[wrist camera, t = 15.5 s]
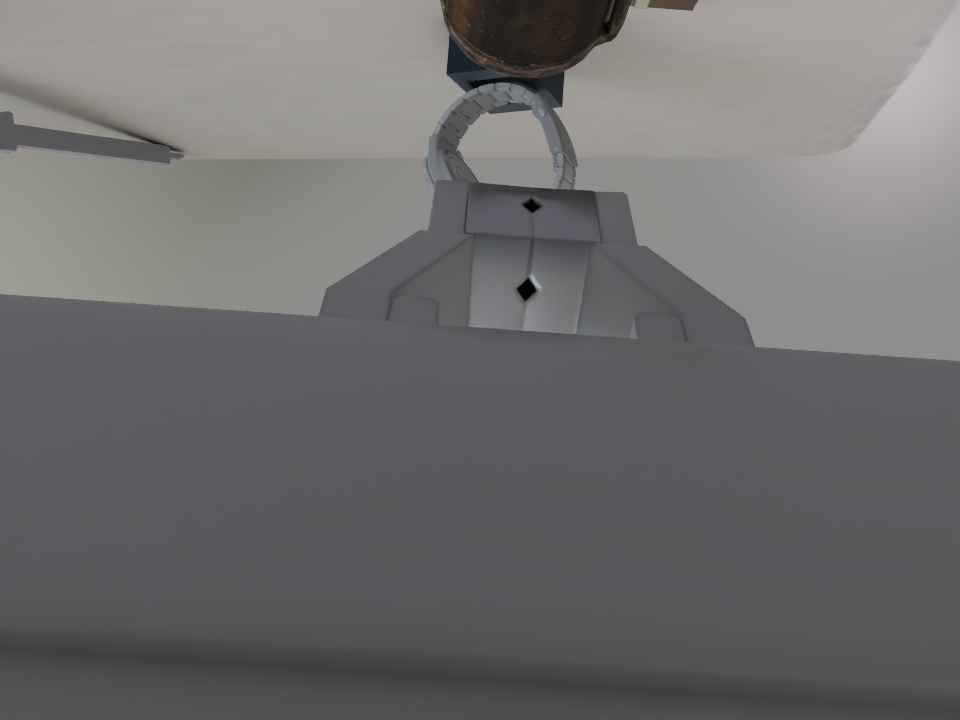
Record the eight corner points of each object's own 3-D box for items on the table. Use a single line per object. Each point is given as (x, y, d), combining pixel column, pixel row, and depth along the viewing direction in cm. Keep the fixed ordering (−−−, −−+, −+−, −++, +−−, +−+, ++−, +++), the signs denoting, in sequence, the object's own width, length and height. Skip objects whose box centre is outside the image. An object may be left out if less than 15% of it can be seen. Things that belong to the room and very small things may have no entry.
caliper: (-103, 56, 53) (-115, 152, 53) (-96, 52, 53) (-108, 149, 52) (177, 153, 70) (169, 227, 69) (185, 151, 69) (177, 226, 69)
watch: (417, 20, 44) (401, 227, 43) (564, -3, 41) (549, 221, 40) (463, 65, 49) (449, 251, 48) (597, 48, 46) (584, 248, 45)
